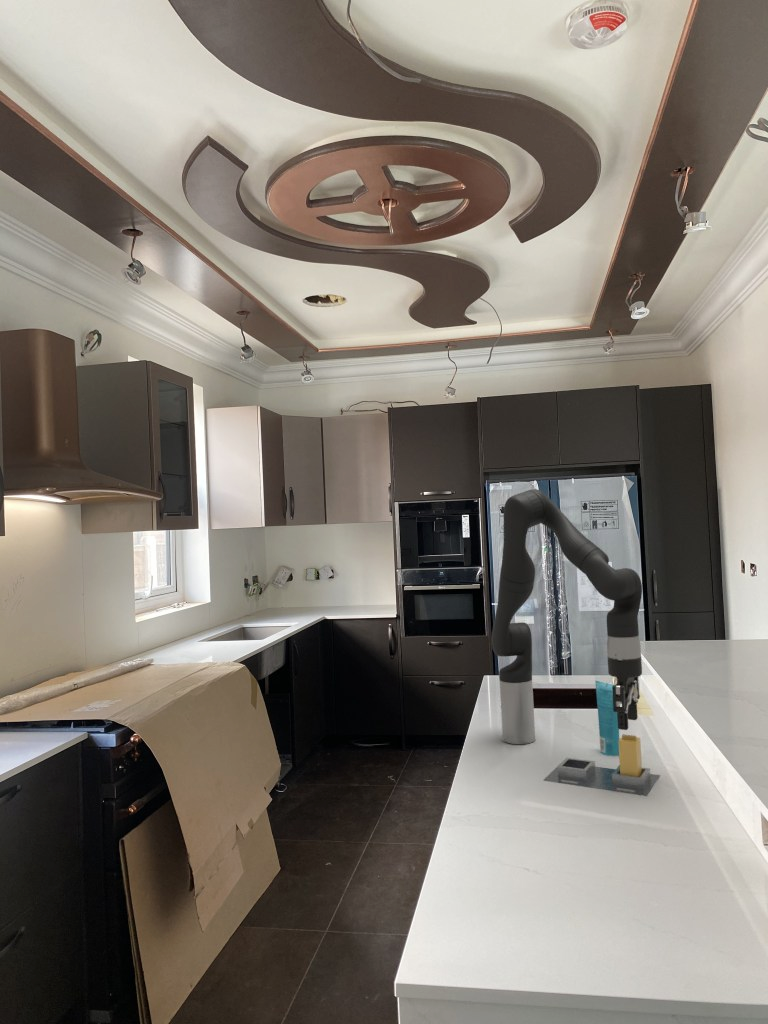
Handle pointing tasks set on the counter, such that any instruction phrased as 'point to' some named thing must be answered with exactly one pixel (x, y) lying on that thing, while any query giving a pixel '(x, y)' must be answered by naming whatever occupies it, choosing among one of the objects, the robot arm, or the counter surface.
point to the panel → (601, 777)
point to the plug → (630, 755)
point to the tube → (607, 719)
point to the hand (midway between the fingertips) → (628, 724)
